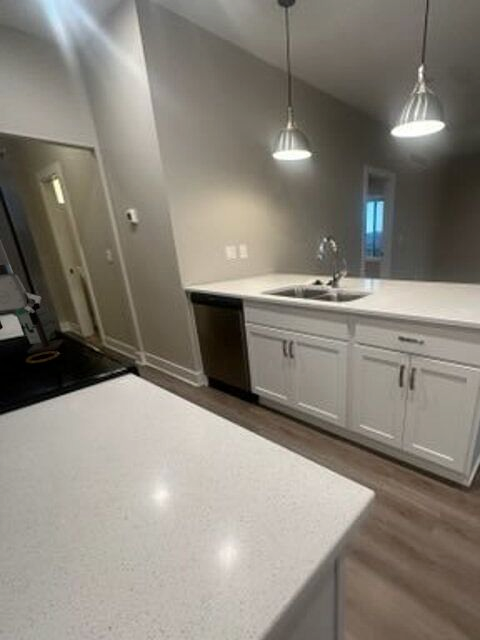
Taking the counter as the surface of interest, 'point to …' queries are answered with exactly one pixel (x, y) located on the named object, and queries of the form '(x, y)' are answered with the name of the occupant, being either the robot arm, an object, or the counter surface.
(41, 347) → the peg on round base
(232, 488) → the counter surface
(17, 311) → the spray can
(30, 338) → the ink box
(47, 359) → the ring
